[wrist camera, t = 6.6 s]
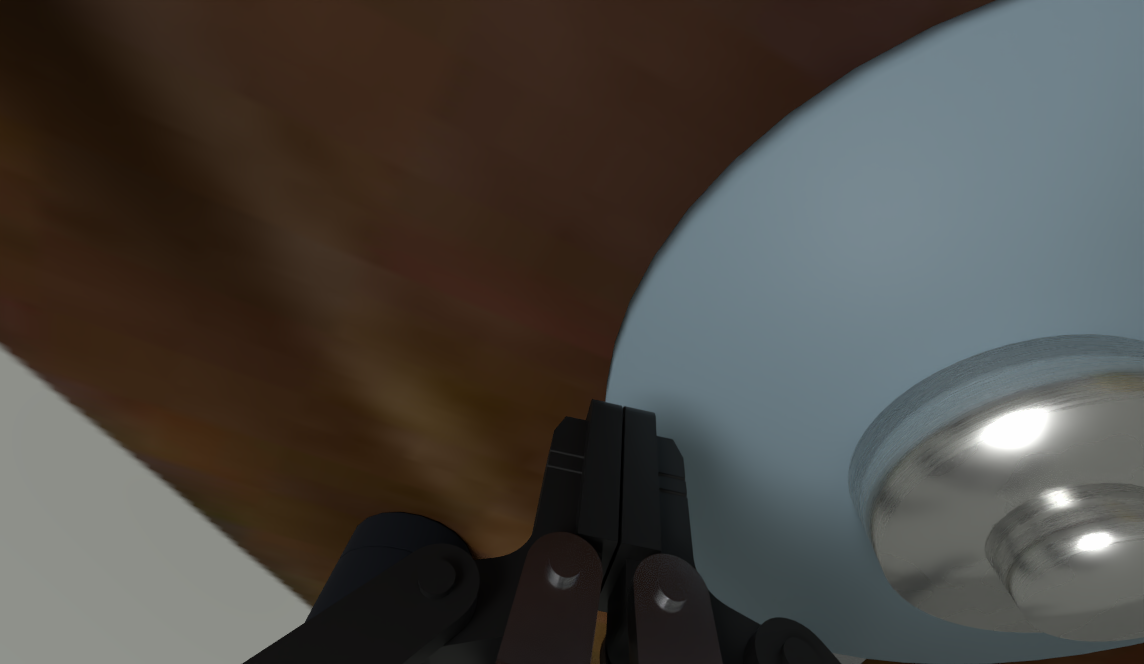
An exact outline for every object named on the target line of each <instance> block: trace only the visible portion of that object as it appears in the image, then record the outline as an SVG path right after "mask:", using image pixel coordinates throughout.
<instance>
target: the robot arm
mask: <svg viewBox="0 0 1144 664" xmlns="http://www.w3.org/2000/svg"><path fill="white" fill-rule="evenodd" d="M598 610H599V611H603V612H607V630H606V635H605V638H604V640H603V642H602V645H601V649H600V664H841V663H840V661H839V660H838V659H837V658H836V657H835V656H834V655H833V653H832V652H831V651H830V650H829V649H828V648H827V647H826V645H825V644H824V643H823V642H822V641H821V640H820V639H819V638H818V637H817V636H816V635H815V634H814V633H813V632H812V631H811V630H809V629H808V628H807V627H805V626H804V625H802V624H800V623H798V622H796V621H794V620H791V619H788V618H782V617H775V618H771V619H768V620H767V621H765V622H764V623H763V624H762V625H761V624H759V623H757V622H755V621H753V620H752V619H750V618H748V617H746V616H744V615H743V614H741V613H739V612H737V611H735V610H734V609H732V608H730V607H728V606H727V605H725V604H724V603H722V602H721V601H720V600H718V599H717V598H716V597H715V596H714V595H713V594H712V593H711V592H710V591H709V590H708V588H707V586H706V584H705V582H704V580H703V578H702V577H701V575H700V574H699V573H698V572H697V570H696V567H695V563H694V557H693V547H692V537H691V527H690V517H689V508H688V498H687V488H686V481H685V468H684V458H683V456H682V455H681V453H680V451H679V449H678V447H677V446H676V444H675V442H674V440H673V439H669V438H665V437H660V436H657V432H656V415H655V413H654V412H650V411H645V410H640V409H636V408H631V407H627V406H624V407H622V406H621V405H617V404H612V403H608V402H603V401H598V400H594V399H592V401H591V404H590V407H589V411H588V414H587V418H586V420H581V419H577V418H572V417H567V416H566V417H565V419H564V420H563V421H562V422H561V423H560V424H559V426H558V427H557V428H556V429H555V430H554V434H553V439H552V443H551V447H550V451H549V456H548V460H547V464H546V469H545V473H544V478H543V483H542V488H541V493H540V498H539V503H538V508H537V513H536V517H535V522H534V527H533V532H532V536H531V537H530V538H529V540H528V541H527V542H526V543H525V544H524V545H523V546H522V547H521V548H519V549H518V550H517V551H515V552H513V553H511V554H508V555H505V556H501V557H496V558H488V559H479V560H473V558H472V557H471V556H470V555H469V554H468V553H467V552H466V551H464V550H463V549H461V548H459V547H457V546H454V545H450V544H443V543H440V544H431V545H427V546H424V547H422V548H420V549H418V550H416V551H414V552H413V553H411V554H410V555H408V556H406V557H405V558H403V559H402V560H400V561H399V562H397V563H396V564H394V565H393V566H391V567H390V568H388V569H387V570H385V571H384V572H382V573H380V574H379V575H377V576H376V577H374V578H373V579H371V580H370V581H368V582H367V583H365V584H364V585H362V586H361V587H359V588H357V589H356V590H354V591H353V592H351V593H350V594H348V595H347V596H345V597H344V598H342V599H341V600H339V601H338V602H336V603H334V604H333V605H331V606H330V607H328V608H327V609H325V610H324V611H322V612H321V613H319V614H318V615H316V616H315V617H313V618H311V619H310V620H308V621H307V622H305V623H304V624H302V625H301V626H299V627H298V628H296V629H295V630H293V631H292V632H290V633H289V634H287V635H285V636H284V637H282V638H281V639H279V640H278V641H277V642H275V643H273V644H272V645H270V646H269V647H267V648H265V649H264V650H262V651H261V652H259V653H258V654H256V655H255V656H254V657H252V658H250V659H249V660H247V661H246V662H244V663H243V664H590V662H591V655H592V648H593V641H594V634H595V627H596V619H597V612H598Z"/></svg>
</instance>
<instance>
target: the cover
mask: <svg viewBox="0 0 1144 664" xmlns="http://www.w3.org/2000/svg"><path fill="white" fill-rule="evenodd" d="M848 487H849V494H850V497H851V499H852V502H853V505H854V507H855V509H856V511H857V514H858V516H859V518H860V521H861V523H862V525H863V527H864V530H865V532H866V534H867V536H868V539H869V541H870V543H871V545H872V548H873V550H874V552H875V554H876V557H877V559H878V561H879V563H880V566H881V568H882V570H883V572H884V575H885V577H886V578H887V580H888V582H889V583H890V585H891V586H892V588H893V589H894V590H895V591H896V592H897V593H898V594H899V595H900V596H901V597H902V598H903V599H905V600H906V601H907V602H909V603H910V604H911V605H913V606H914V607H916V608H918V609H920V610H922V611H924V612H925V613H927V614H930V615H932V616H935V617H937V618H940V619H942V620H945V621H948V622H952V623H955V624H959V625H963V626H968V627H973V628H978V629H984V630H992V631H1001V632H1018V633H1046V634H1049V635H1052V636H1055V637H1059V638H1064V639H1069V640H1077V641H1090V642H1107V641H1121V640H1130V639H1137V638H1142V637H1144V341H1141V340H1136V339H1131V338H1125V337H1120V336H1110V335H1096V334H1081V335H1060V336H1052V337H1043V338H1036V339H1031V340H1026V341H1022V342H1017V343H1012V344H1008V345H1005V346H1001V347H998V348H994V349H991V350H988V351H984V352H981V353H979V354H976V355H974V356H971V357H969V358H966V359H963V360H961V361H958V362H956V363H954V364H952V365H950V366H948V367H946V368H944V369H942V370H940V371H938V372H936V373H934V374H932V375H930V376H929V377H927V378H925V379H924V380H922V381H920V382H919V383H917V384H915V385H914V386H913V387H911V388H910V389H908V390H907V391H906V392H904V393H903V394H902V395H900V396H899V397H898V398H896V399H895V400H894V401H893V402H892V403H891V404H890V405H888V406H887V407H886V408H885V409H884V410H883V411H882V412H881V413H880V414H879V415H878V416H877V417H876V418H875V420H874V421H873V422H872V423H871V424H870V425H869V427H868V428H867V429H866V431H865V432H864V434H863V435H862V437H861V438H860V440H859V442H858V444H857V446H856V448H855V450H854V452H853V455H852V458H851V462H850V466H849V471H848Z"/></svg>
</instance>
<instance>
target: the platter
mask: <svg viewBox="0 0 1144 664" xmlns="http://www.w3.org/2000/svg"><path fill="white" fill-rule="evenodd" d="M1081 334H1096V335H1110V336H1120V337H1125V338H1131V339H1136V340H1141V341H1144V0H996V1H994V2H991V3H989V4H986V5H984V6H981V7H979V8H976V9H974V10H972V11H969V12H967V13H964V14H962V15H959V16H957V17H955V18H952V19H950V20H947V21H945V22H942V23H940V24H937V25H935V26H933V27H931V28H929V29H927V30H925V31H923V32H921V33H920V34H918V35H916V36H914V37H912V38H910V39H908V40H907V41H905V42H903V43H901V44H899V45H897V46H895V47H894V48H892V49H890V50H888V51H886V52H884V53H883V54H881V55H879V56H877V57H875V58H873V59H871V60H870V61H868V62H866V63H864V64H862V65H860V66H858V67H857V68H855V69H853V70H852V71H850V72H849V73H847V74H846V75H844V76H843V77H842V78H840V79H839V80H837V81H836V82H834V83H833V84H831V85H830V86H828V87H827V88H826V89H824V90H823V91H821V92H820V93H818V94H817V95H815V96H814V97H812V98H811V99H809V100H808V101H807V102H805V103H804V104H802V105H801V106H799V107H798V108H796V109H795V110H793V111H792V112H790V113H789V114H788V115H786V116H785V117H784V118H783V119H782V120H781V121H779V122H778V123H777V124H776V125H775V126H774V127H772V128H771V129H770V130H769V131H768V132H767V133H765V134H764V135H763V136H762V137H761V138H760V139H758V140H757V141H756V142H755V143H754V144H753V145H751V146H750V147H749V148H748V149H747V150H746V151H744V152H743V153H742V154H741V155H740V156H739V157H737V158H736V159H735V160H734V161H733V162H732V163H731V164H730V165H729V166H728V167H727V168H726V169H725V170H724V171H723V172H722V174H721V175H720V176H719V177H718V178H717V179H716V180H715V181H714V182H713V183H712V184H711V185H710V186H709V188H708V189H707V190H706V191H705V192H704V193H703V194H702V195H701V196H700V197H699V198H698V199H697V200H696V202H695V203H694V204H693V205H692V206H691V207H690V208H689V209H688V210H687V212H686V213H685V214H684V216H683V217H682V219H681V220H680V221H679V223H678V224H677V225H676V227H675V228H674V230H673V231H672V232H671V234H670V235H669V236H668V238H667V239H666V241H665V242H664V243H663V245H662V246H661V248H660V249H659V250H658V252H657V253H656V254H655V256H654V258H653V259H652V261H651V263H650V265H649V267H648V269H647V271H646V272H645V274H644V276H643V278H642V280H641V282H640V284H639V285H638V287H637V289H636V291H635V293H634V295H633V296H632V298H631V300H630V303H629V305H628V308H627V311H626V314H625V316H624V319H623V322H622V325H621V327H620V330H619V333H618V335H617V338H616V341H615V345H614V350H613V355H612V360H611V365H610V370H609V375H608V380H607V390H606V402H608V403H612V404H617V405H621V406H622V407H624V406H627V407H631V408H636V409H640V410H645V411H650V412H654V413H655V415H656V432H657V436H660V437H665V438H669V439H673V440H674V442H675V444H676V446H677V447H678V449H679V451H680V453H681V455H682V456H683V458H684V468H685V481H686V488H687V498H688V508H689V517H690V527H691V537H692V547H693V557H694V563H695V567H696V570H697V572H698V573H699V574H700V575H701V577H702V578H703V580H704V582H705V584H706V586H707V588H708V590H709V591H710V592H711V593H712V594H713V595H714V596H715V597H716V598H717V599H718V600H720V601H721V602H722V603H724V604H725V605H727V606H728V607H730V608H732V609H734V610H735V611H737V612H739V613H741V614H743V615H744V616H746V617H748V618H750V619H752V620H753V621H755V622H757V623H759V624H761V625H762V624H763V623H764V622H765V621H767V620H768V619H771V618H775V617H782V618H788V619H791V620H794V621H796V622H798V623H800V624H802V625H804V626H805V627H807V628H808V629H809V630H811V631H812V632H813V633H814V634H815V635H816V636H817V637H818V638H819V639H820V640H821V641H822V642H823V643H824V644H825V645H826V647H827V648H828V649H829V650H830V651H831V652H832V653H836V654H842V655H848V656H853V657H859V658H866V659H875V660H884V661H894V662H903V663H927V664H990V663H1004V662H1017V661H1031V660H1040V659H1048V658H1056V657H1064V656H1072V655H1080V654H1086V653H1091V652H1097V651H1102V650H1108V649H1113V648H1119V647H1124V646H1130V645H1135V644H1139V643H1143V642H1144V637H1142V638H1137V639H1130V640H1121V641H1107V642H1090V641H1077V640H1069V639H1064V638H1059V637H1055V636H1052V635H1049V634H1046V633H1018V632H1001V631H992V630H984V629H978V628H973V627H968V626H963V625H959V624H955V623H952V622H948V621H945V620H942V619H940V618H937V617H935V616H932V615H930V614H927V613H925V612H924V611H922V610H920V609H918V608H916V607H914V606H913V605H911V604H910V603H909V602H907V601H906V600H905V599H903V598H902V597H901V596H900V595H899V594H898V593H897V592H896V591H895V590H894V589H893V588H892V586H891V585H890V583H889V582H888V580H887V578H886V577H885V575H884V572H883V570H882V568H881V566H880V563H879V561H878V559H877V557H876V554H875V552H874V550H873V548H872V545H871V543H870V541H869V539H868V536H867V534H866V532H865V530H864V527H863V525H862V523H861V521H860V518H859V516H858V514H857V511H856V509H855V507H854V505H853V502H852V499H851V497H850V494H849V487H848V471H849V466H850V462H851V458H852V455H853V452H854V450H855V448H856V446H857V444H858V442H859V440H860V438H861V437H862V435H863V434H864V432H865V431H866V429H867V428H868V427H869V425H870V424H871V423H872V422H873V421H874V420H875V418H876V417H877V416H878V415H879V414H880V413H881V412H882V411H883V410H884V409H885V408H886V407H887V406H888V405H890V404H891V403H892V402H893V401H894V400H895V399H896V398H898V397H899V396H900V395H902V394H903V393H904V392H906V391H907V390H908V389H910V388H911V387H913V386H914V385H915V384H917V383H919V382H920V381H922V380H924V379H925V378H927V377H929V376H930V375H932V374H934V373H936V372H938V371H940V370H942V369H944V368H946V367H948V366H950V365H952V364H954V363H956V362H958V361H961V360H963V359H966V358H969V357H971V356H974V355H976V354H979V353H981V352H984V351H988V350H991V349H994V348H998V347H1001V346H1005V345H1008V344H1012V343H1017V342H1022V341H1026V340H1031V339H1036V338H1043V337H1052V336H1060V335H1081Z"/></svg>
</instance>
